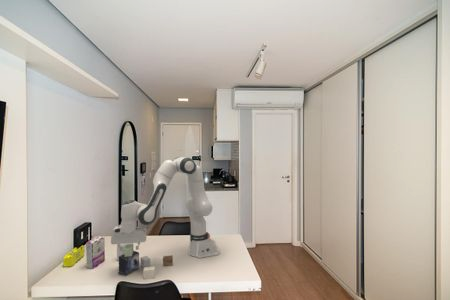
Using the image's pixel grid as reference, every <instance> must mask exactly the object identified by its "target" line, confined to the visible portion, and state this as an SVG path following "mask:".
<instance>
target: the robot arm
mask: <svg viewBox="0 0 450 300" xmlns="http://www.w3.org/2000/svg"><path fill="white" fill-rule="evenodd" d="M177 173H180V174H186V177H187V182H188V183H187V184H188V192H189V193H190V195H191V197H188V198H187V199H186V202H185V203H184V204H185V208H186V211H187V212H188V216H189V221H190V233H189V240H190V243H189V249H188V255H189V256H192V257H196V258H198V259H202V258H208V257H209V258H210V257H213V256H219V255H220V253H221V252H220V250H221V249H220V248H219V247H218V246H217V243H216V241H215V240H214V239H213V238H211V235H210V233H209V232H208V231H207V221H206V219H205V218H204V217H208V216H210V215H211V213H212V211H213V205H212V203H211V202H210V201H209V198H208V196H207V193H206V189H205V182H204V181H205V180H204V175H203V171H202V167H201V166H200V165H198V164H196V163H195V161H194V160H193V158H191V157H186V156H178V157H176V158H174V159H173V160H171V159H166V160H164V161H163V162H162V163H161V165H160V166H159V167H158V169H157V171H156V173H155V174H154V176H153V179H152V184H153V193H152V195H151V197H150V200H149V202H148V203H147V204H146V203H140V202H138V201H136V200H131V199H130V200H127V201H124V202H123V203H122V205H121V211H120V218H121V222H120V224H118V225H116V226H114V228H113V229H112V234H111V237H110V244H111V245H117V246H118V248H119V251H122V247H121V246H120V244H126V243H133V244H137V245H136V246H135V251H136V250H139V249H140V248H139V247H140V245H141V243H145V242H146V241H147V231H148V229H147V227H145V226H148V225H151V224H152V223H154V222H155V221H156V219H157V213H158V209H159V207H160V205H161V203H162V200H163V199H164V197H165V193H166V191H167V189H168V187H169V185H170V184H171V182H172V179H173V178H174V176H175V175H176V174H177ZM138 221H139V223H140V224H141V225H144V226H137V225H138V223H137V222H138ZM117 246H116V247H117Z"/></svg>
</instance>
